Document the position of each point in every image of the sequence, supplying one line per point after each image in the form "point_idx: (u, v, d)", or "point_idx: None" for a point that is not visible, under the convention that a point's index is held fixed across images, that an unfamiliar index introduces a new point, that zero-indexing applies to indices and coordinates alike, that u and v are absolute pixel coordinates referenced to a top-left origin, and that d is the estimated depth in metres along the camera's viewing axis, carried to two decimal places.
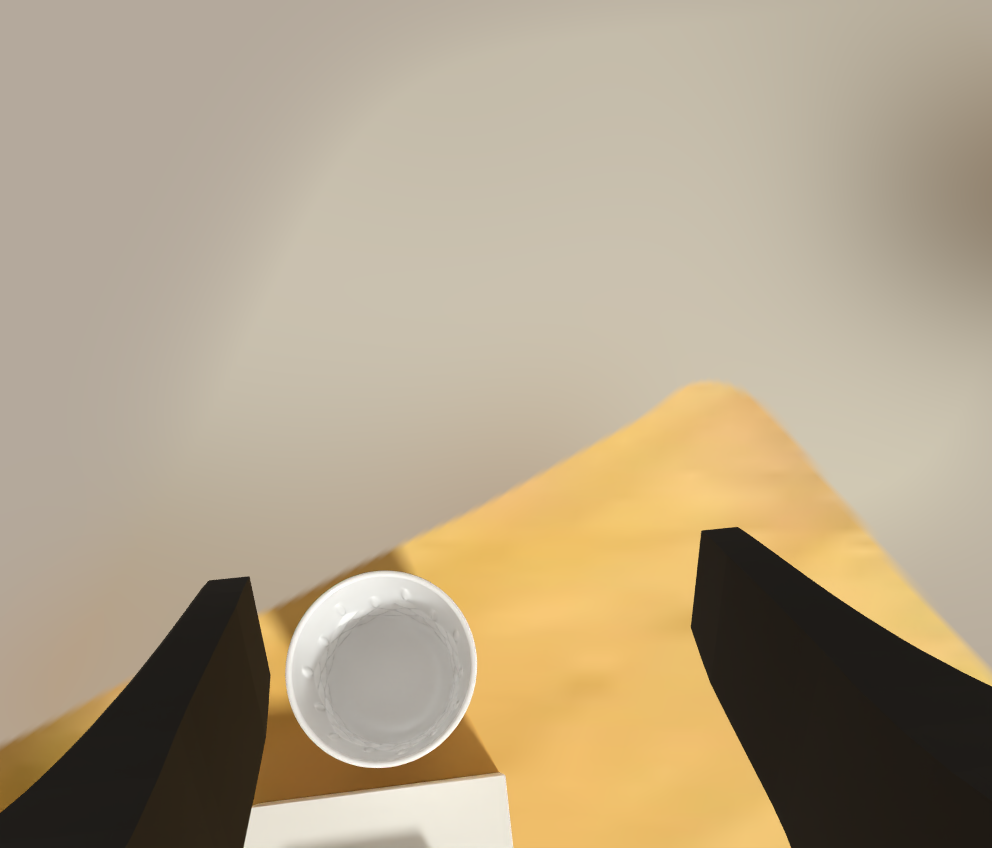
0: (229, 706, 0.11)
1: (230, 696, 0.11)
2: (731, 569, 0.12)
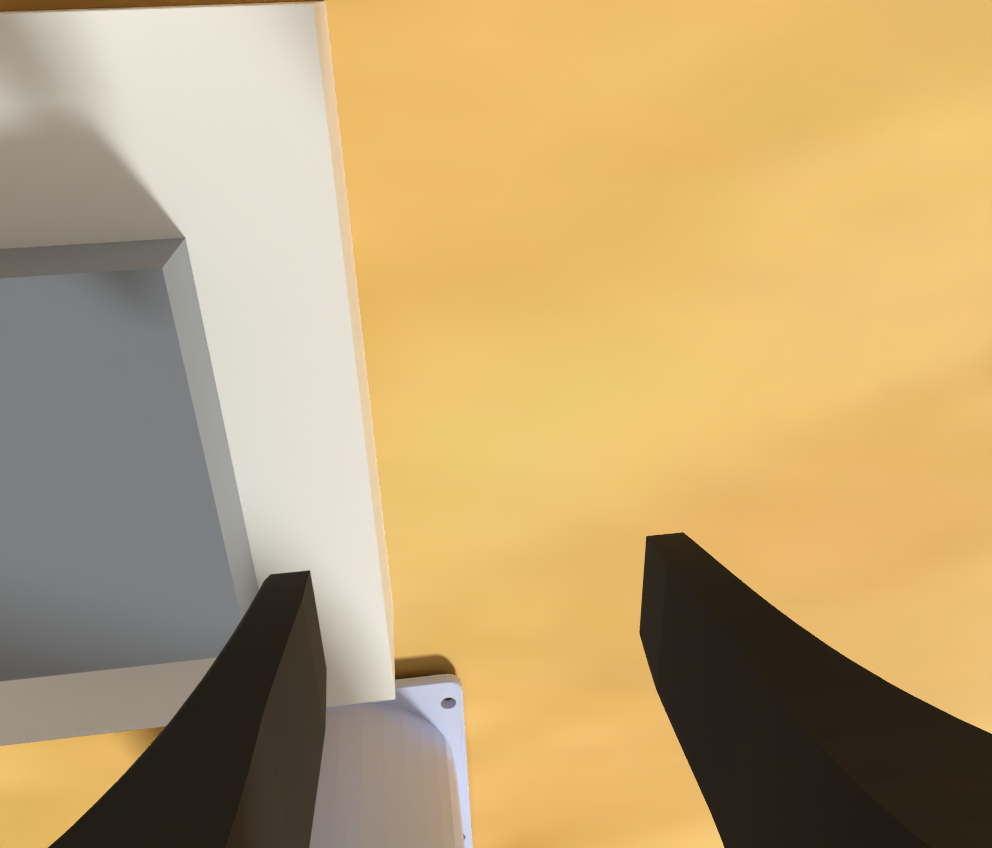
0: (299, 698, 0.11)
1: (299, 688, 0.11)
2: (671, 575, 0.12)
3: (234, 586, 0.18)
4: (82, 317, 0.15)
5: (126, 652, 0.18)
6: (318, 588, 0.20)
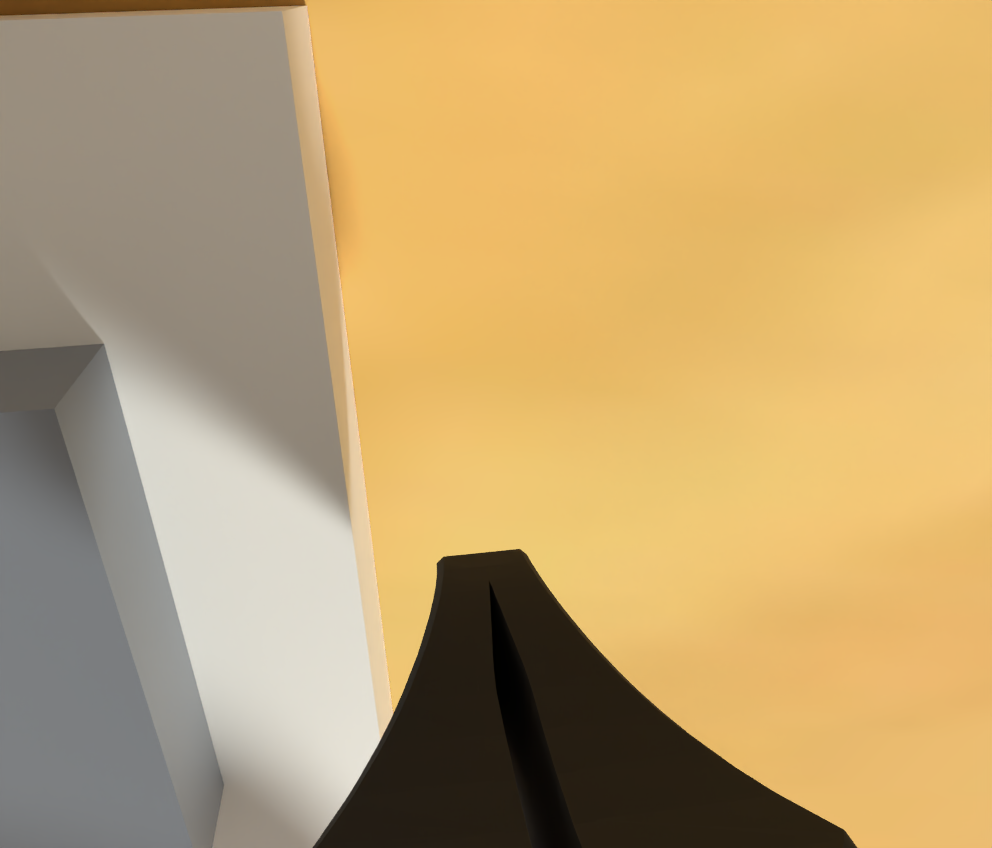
0: None
1: None
2: (492, 594, 0.12)
3: (181, 809, 0.13)
4: None
5: None
6: (300, 773, 0.16)
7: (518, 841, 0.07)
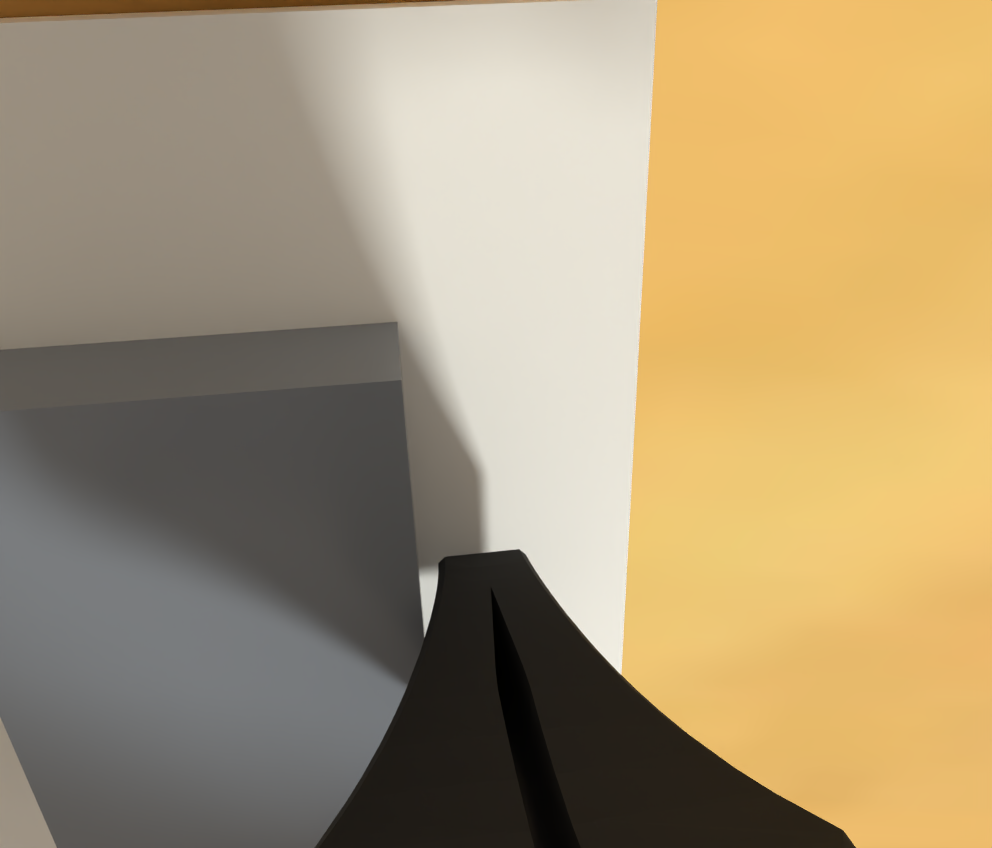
0: None
1: None
2: (491, 595, 0.12)
3: None
4: (280, 447, 0.10)
5: None
6: None
7: (520, 840, 0.07)
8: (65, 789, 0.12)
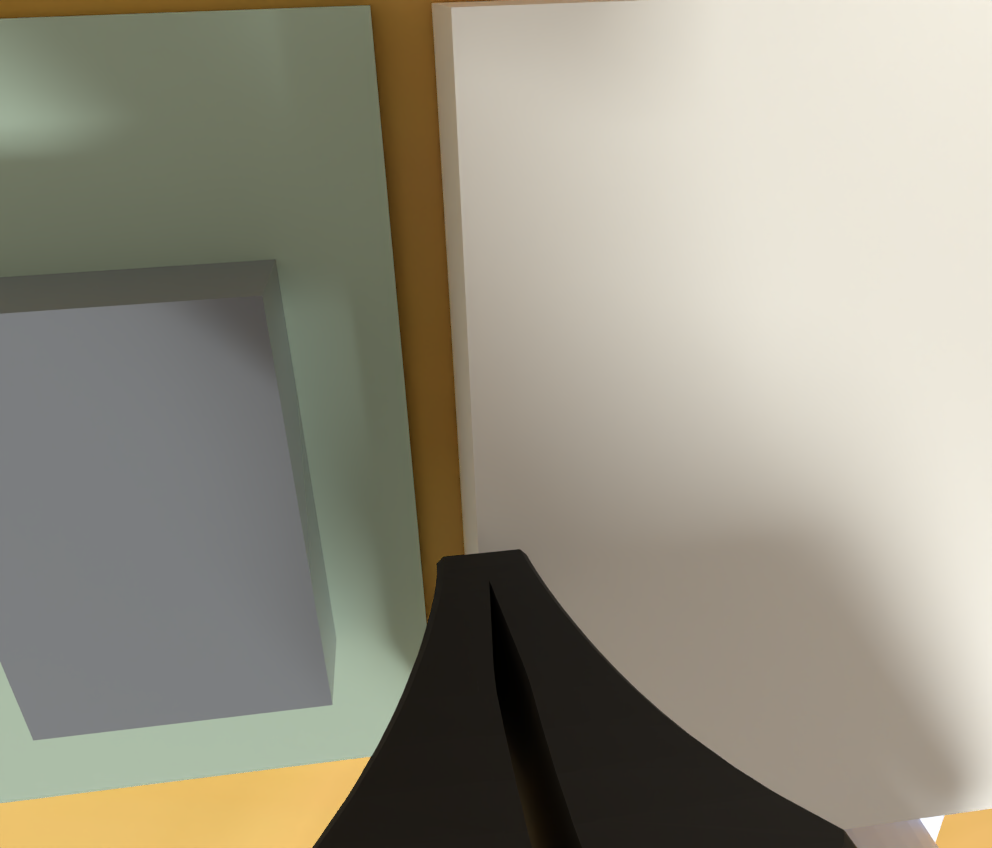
0: None
1: None
2: (492, 594, 0.12)
3: None
4: None
5: None
6: (986, 686, 0.17)
7: (518, 841, 0.07)
8: None
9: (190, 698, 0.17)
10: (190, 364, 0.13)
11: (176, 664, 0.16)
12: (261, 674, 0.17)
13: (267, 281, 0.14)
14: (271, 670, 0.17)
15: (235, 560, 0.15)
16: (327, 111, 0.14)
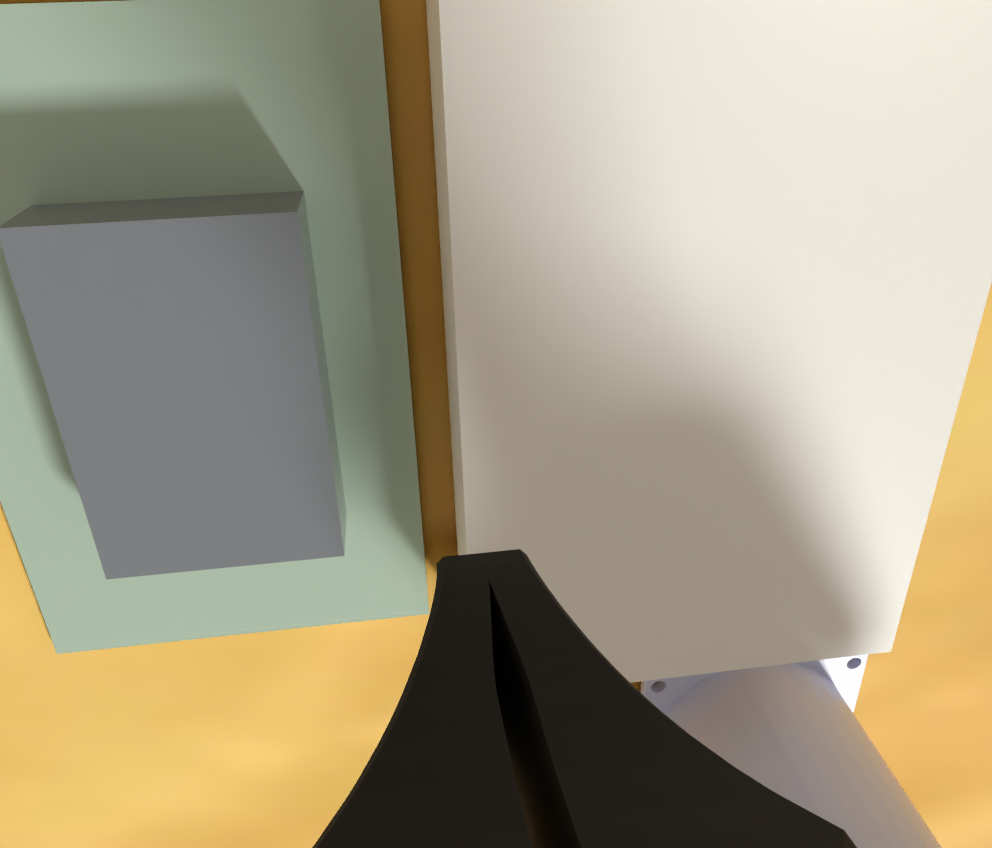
0: None
1: None
2: (492, 595, 0.12)
3: None
4: None
5: None
6: (866, 541, 0.21)
7: (518, 841, 0.07)
8: None
9: (232, 546, 0.21)
10: (240, 265, 0.18)
11: (221, 516, 0.20)
12: (288, 527, 0.21)
13: (299, 204, 0.18)
14: (296, 524, 0.21)
15: (270, 428, 0.20)
16: (345, 74, 0.18)
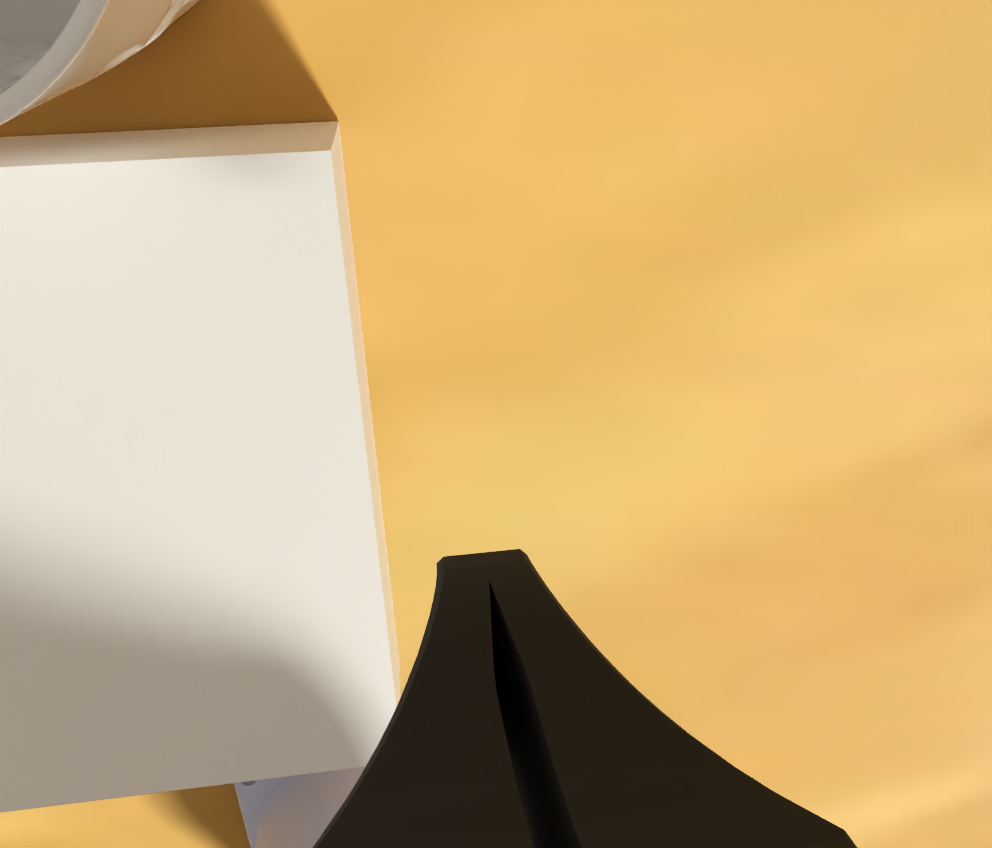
0: None
1: None
2: (492, 595, 0.12)
3: None
4: None
5: None
6: (330, 663, 0.22)
7: (518, 841, 0.07)
8: None
9: None
10: None
11: None
12: None
13: None
14: None
15: None
16: None
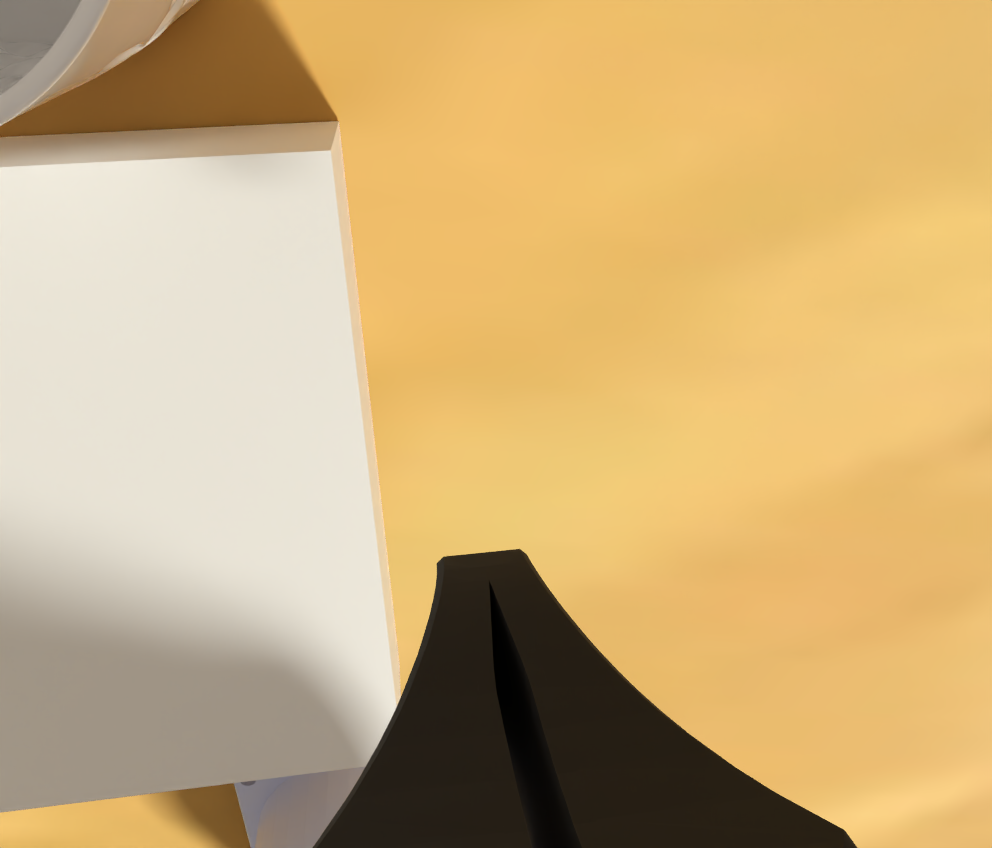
0: None
1: None
2: (492, 595, 0.12)
3: None
4: None
5: None
6: (330, 663, 0.22)
7: (518, 841, 0.07)
8: None
9: None
10: None
11: None
12: None
13: None
14: None
15: None
16: None
